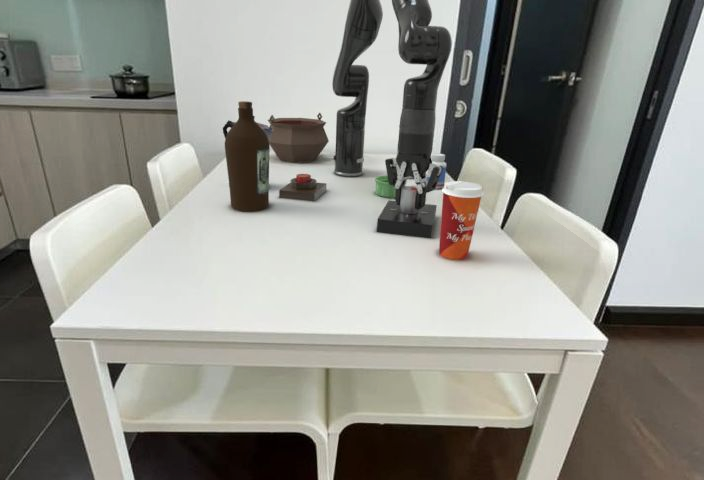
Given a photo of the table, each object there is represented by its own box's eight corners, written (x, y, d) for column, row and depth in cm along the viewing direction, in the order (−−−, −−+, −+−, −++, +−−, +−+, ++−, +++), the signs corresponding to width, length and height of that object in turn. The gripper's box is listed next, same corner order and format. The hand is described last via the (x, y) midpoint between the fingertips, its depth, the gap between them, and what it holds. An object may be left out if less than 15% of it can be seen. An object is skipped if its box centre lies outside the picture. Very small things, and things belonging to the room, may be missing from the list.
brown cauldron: (303, 150, 190) (304, 108, 183) (341, 161, 174) (343, 115, 167) (252, 156, 176) (250, 111, 169) (288, 168, 160) (287, 118, 153)
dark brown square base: (293, 187, 136) (293, 174, 135) (326, 190, 134) (326, 177, 132) (279, 198, 126) (278, 183, 124) (314, 201, 124) (314, 187, 122)
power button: (299, 179, 131) (299, 173, 130) (312, 180, 130) (312, 174, 129) (294, 182, 127) (294, 176, 126) (308, 183, 126) (308, 177, 125)
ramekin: (369, 196, 131) (370, 180, 129) (379, 188, 138) (380, 174, 136) (400, 200, 128) (402, 184, 126) (408, 192, 135) (410, 177, 133)
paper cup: (450, 264, 88) (461, 192, 82) (425, 250, 94) (434, 182, 88) (481, 258, 91) (494, 188, 86) (455, 245, 98) (465, 179, 92)
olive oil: (221, 210, 114) (213, 102, 104) (239, 199, 124) (233, 99, 113) (262, 214, 112) (258, 104, 102) (276, 202, 122) (274, 101, 111)
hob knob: (395, 211, 108) (397, 186, 105) (405, 207, 111) (408, 183, 108) (412, 215, 105) (414, 190, 103) (421, 211, 108) (424, 187, 106)
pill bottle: (446, 186, 143) (450, 154, 139) (439, 189, 139) (444, 157, 135) (430, 183, 146) (433, 152, 142) (423, 187, 142) (426, 154, 138)
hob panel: (387, 211, 118) (388, 199, 116) (435, 216, 115) (436, 204, 114) (376, 231, 103) (377, 218, 102) (430, 238, 101) (432, 224, 100)
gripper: (454, 132, 99) (444, 209, 106) (397, 125, 107) (391, 197, 114) (438, 135, 94) (429, 216, 101) (379, 128, 101) (374, 203, 109)
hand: (409, 206), depth 107 cm, fingers closed on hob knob, 4 cm apart
